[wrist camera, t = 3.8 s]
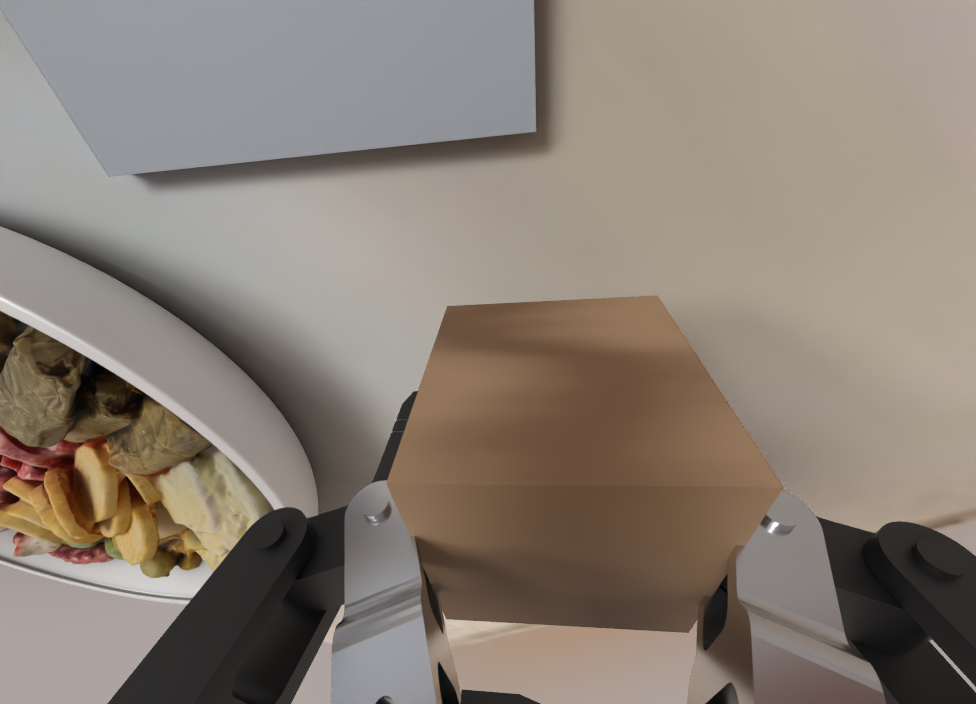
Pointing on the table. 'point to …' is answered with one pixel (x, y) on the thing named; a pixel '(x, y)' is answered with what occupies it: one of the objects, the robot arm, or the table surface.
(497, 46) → the grey square plate
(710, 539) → the walnut block
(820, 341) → the table surface
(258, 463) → the bowl
